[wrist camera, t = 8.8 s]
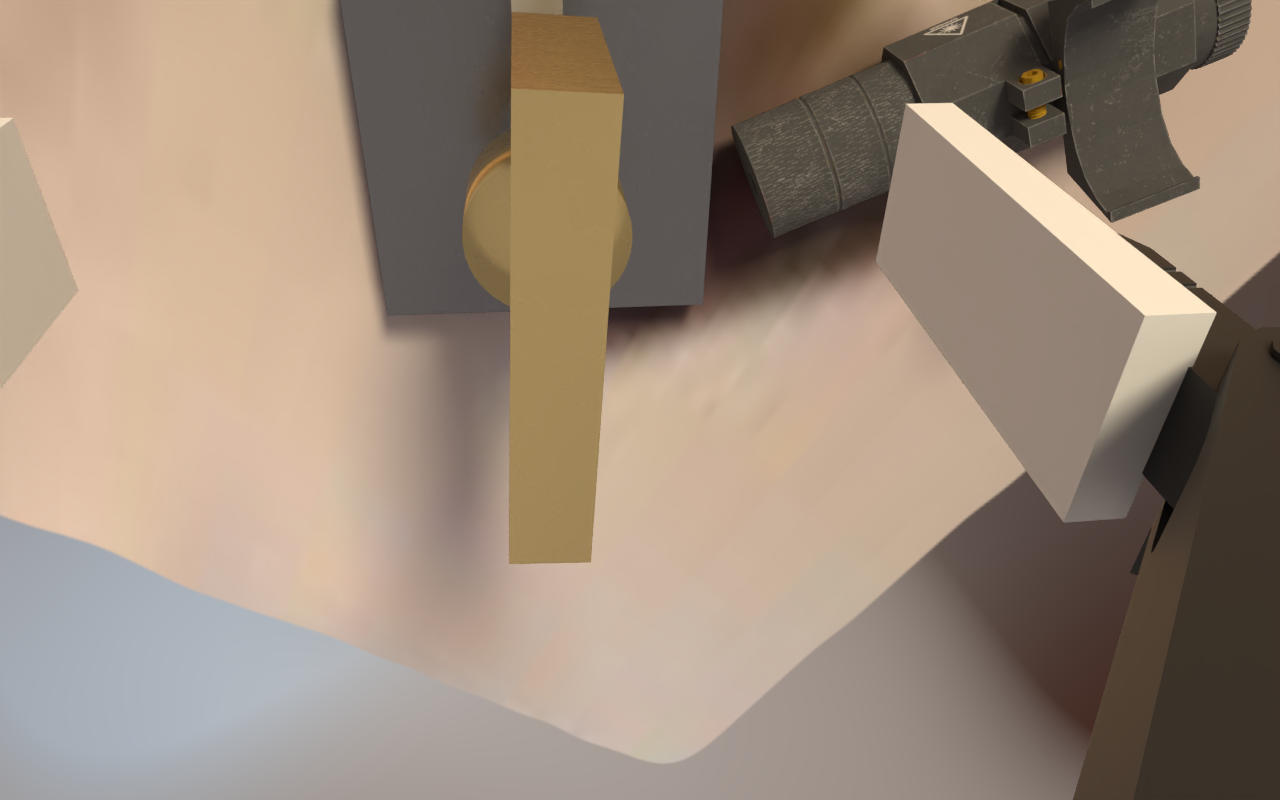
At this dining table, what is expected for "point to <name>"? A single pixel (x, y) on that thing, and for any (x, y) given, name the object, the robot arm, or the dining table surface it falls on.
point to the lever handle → (553, 270)
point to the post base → (471, 103)
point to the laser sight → (1002, 102)
